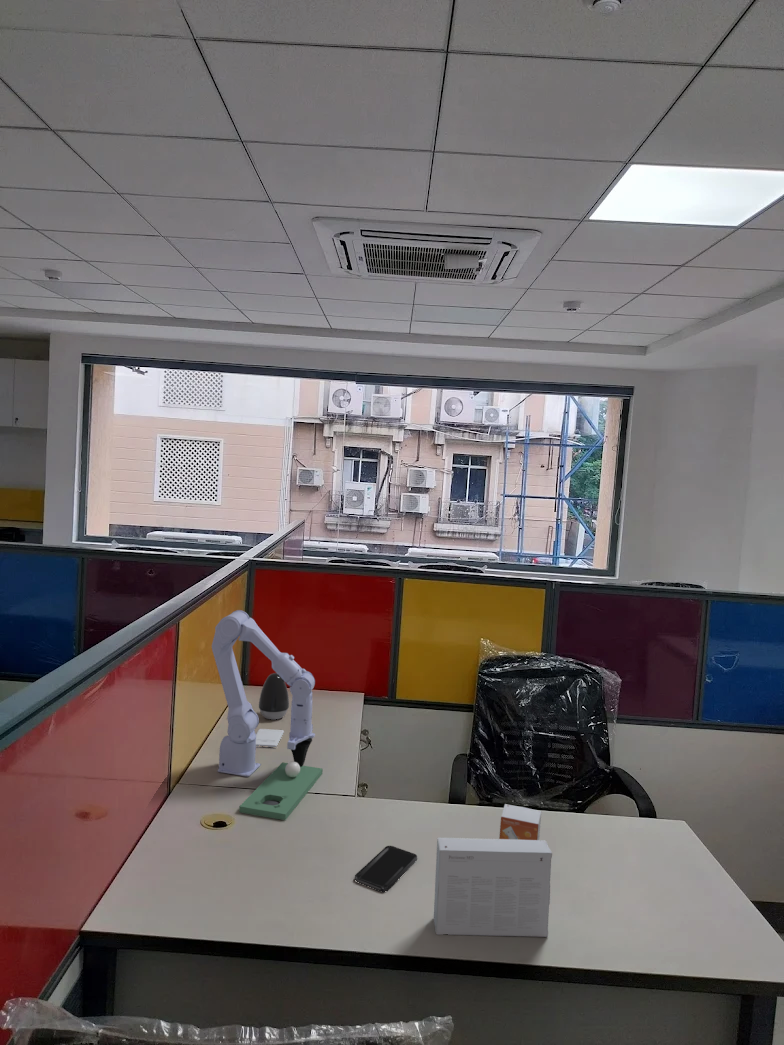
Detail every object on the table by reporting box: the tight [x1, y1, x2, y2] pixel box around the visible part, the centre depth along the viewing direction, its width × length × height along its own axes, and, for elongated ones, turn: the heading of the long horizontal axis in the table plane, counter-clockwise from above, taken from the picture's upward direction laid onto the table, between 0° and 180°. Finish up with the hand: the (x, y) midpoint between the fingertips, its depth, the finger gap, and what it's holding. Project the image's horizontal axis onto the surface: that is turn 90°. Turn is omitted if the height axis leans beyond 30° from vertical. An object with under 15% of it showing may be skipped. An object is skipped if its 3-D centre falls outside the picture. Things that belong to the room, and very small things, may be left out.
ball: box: [285, 761, 300, 777], centre depth 180 cm, size 4×4×4 cm
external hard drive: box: [255, 728, 285, 748], centre depth 208 cm, size 2×8×12 cm
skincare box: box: [433, 837, 553, 938], centre depth 125 cm, size 21×6×16 cm, turn 92°
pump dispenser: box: [258, 672, 290, 721], centre depth 228 cm, size 10×10×15 cm
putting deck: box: [238, 762, 324, 821], centre depth 175 cm, size 12×27×2 cm, turn 167°
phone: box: [354, 845, 418, 893], centre depth 142 cm, size 8×1×15 cm
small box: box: [498, 803, 542, 840], centre depth 144 cm, size 8×6×13 cm
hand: (299, 765), depth 185 cm, fingers closed
